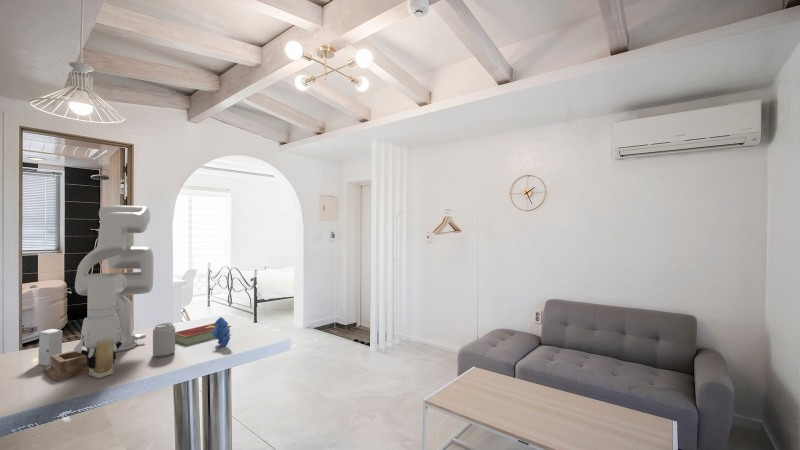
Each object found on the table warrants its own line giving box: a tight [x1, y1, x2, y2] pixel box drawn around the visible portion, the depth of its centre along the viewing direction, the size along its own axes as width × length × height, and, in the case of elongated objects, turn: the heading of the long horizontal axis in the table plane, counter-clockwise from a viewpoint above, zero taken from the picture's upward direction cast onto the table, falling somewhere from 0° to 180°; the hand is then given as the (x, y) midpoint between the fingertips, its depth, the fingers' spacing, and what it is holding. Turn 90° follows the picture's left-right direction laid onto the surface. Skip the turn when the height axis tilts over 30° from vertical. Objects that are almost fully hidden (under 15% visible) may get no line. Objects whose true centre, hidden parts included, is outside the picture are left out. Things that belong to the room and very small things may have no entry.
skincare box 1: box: [37, 328, 64, 367], centre depth 136 cm, size 6×4×12 cm
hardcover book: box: [175, 322, 232, 346], centre depth 169 cm, size 12×21×4 cm, turn 148°
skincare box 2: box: [88, 339, 114, 379], centre depth 125 cm, size 6×4×12 cm
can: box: [152, 322, 176, 358], centre depth 146 cm, size 8×8×12 cm
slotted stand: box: [42, 348, 89, 382], centre depth 129 cm, size 12×14×6 cm
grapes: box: [212, 316, 231, 347], centre depth 156 cm, size 12×7×12 cm, turn 49°
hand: (101, 364), depth 125 cm, fingers closed on skincare box 2, 4 cm apart
